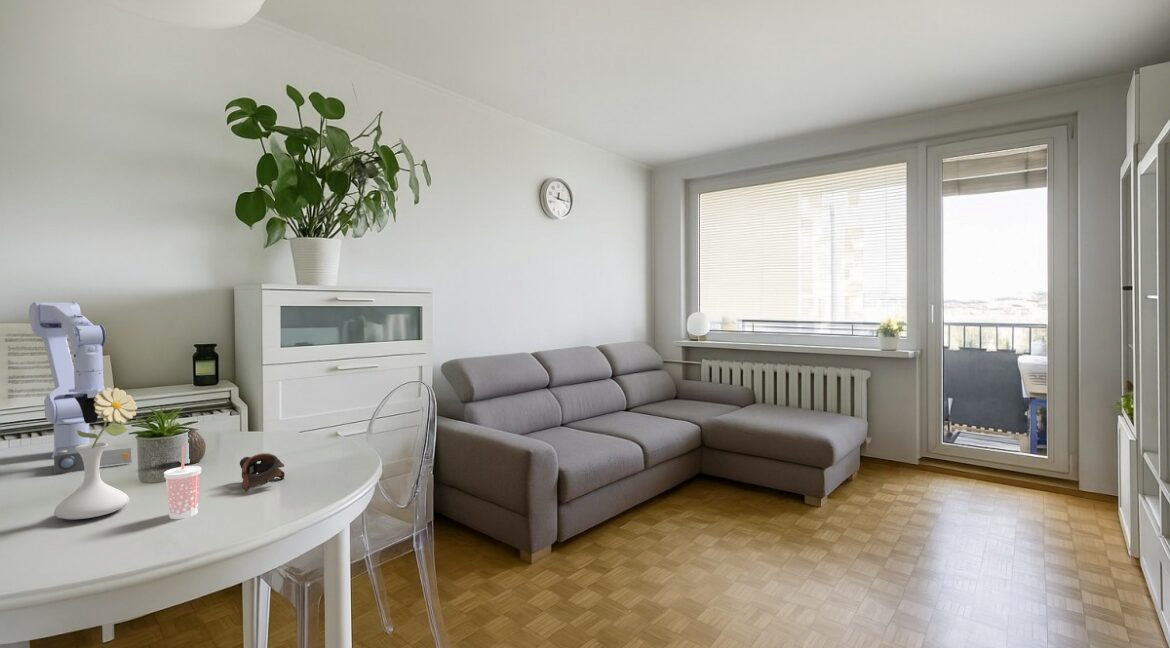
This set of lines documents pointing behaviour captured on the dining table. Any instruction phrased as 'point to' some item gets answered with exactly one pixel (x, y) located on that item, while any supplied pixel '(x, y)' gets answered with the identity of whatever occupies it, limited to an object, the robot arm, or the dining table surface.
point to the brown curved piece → (260, 470)
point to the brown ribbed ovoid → (196, 446)
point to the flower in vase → (94, 492)
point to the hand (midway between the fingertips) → (90, 422)
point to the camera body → (67, 459)
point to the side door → (116, 456)
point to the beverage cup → (183, 489)
